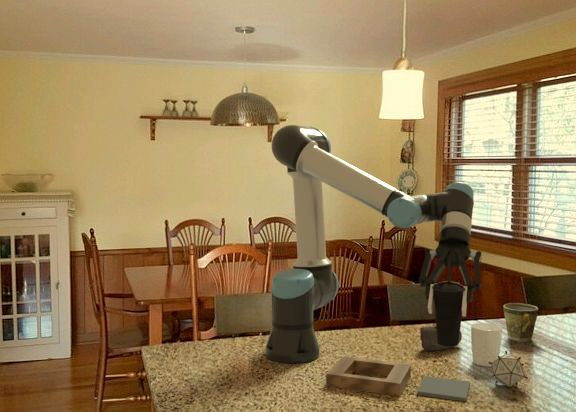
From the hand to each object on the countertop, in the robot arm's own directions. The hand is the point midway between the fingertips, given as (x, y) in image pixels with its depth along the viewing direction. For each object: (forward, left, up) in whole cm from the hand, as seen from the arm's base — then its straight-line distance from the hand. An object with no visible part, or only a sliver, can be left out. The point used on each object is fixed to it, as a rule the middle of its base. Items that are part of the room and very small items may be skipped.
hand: (446, 311), depth 139 cm
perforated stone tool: (-6, +36, -20) cm, 41 cm away
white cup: (+7, +28, -20) cm, 35 cm away
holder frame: (-19, +3, -20) cm, 27 cm away
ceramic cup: (+16, +54, -20) cm, 59 cm away
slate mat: (-1, +4, -20) cm, 20 cm away
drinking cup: (0, +4, -9) cm, 9 cm away
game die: (+13, +12, -20) cm, 27 cm away
